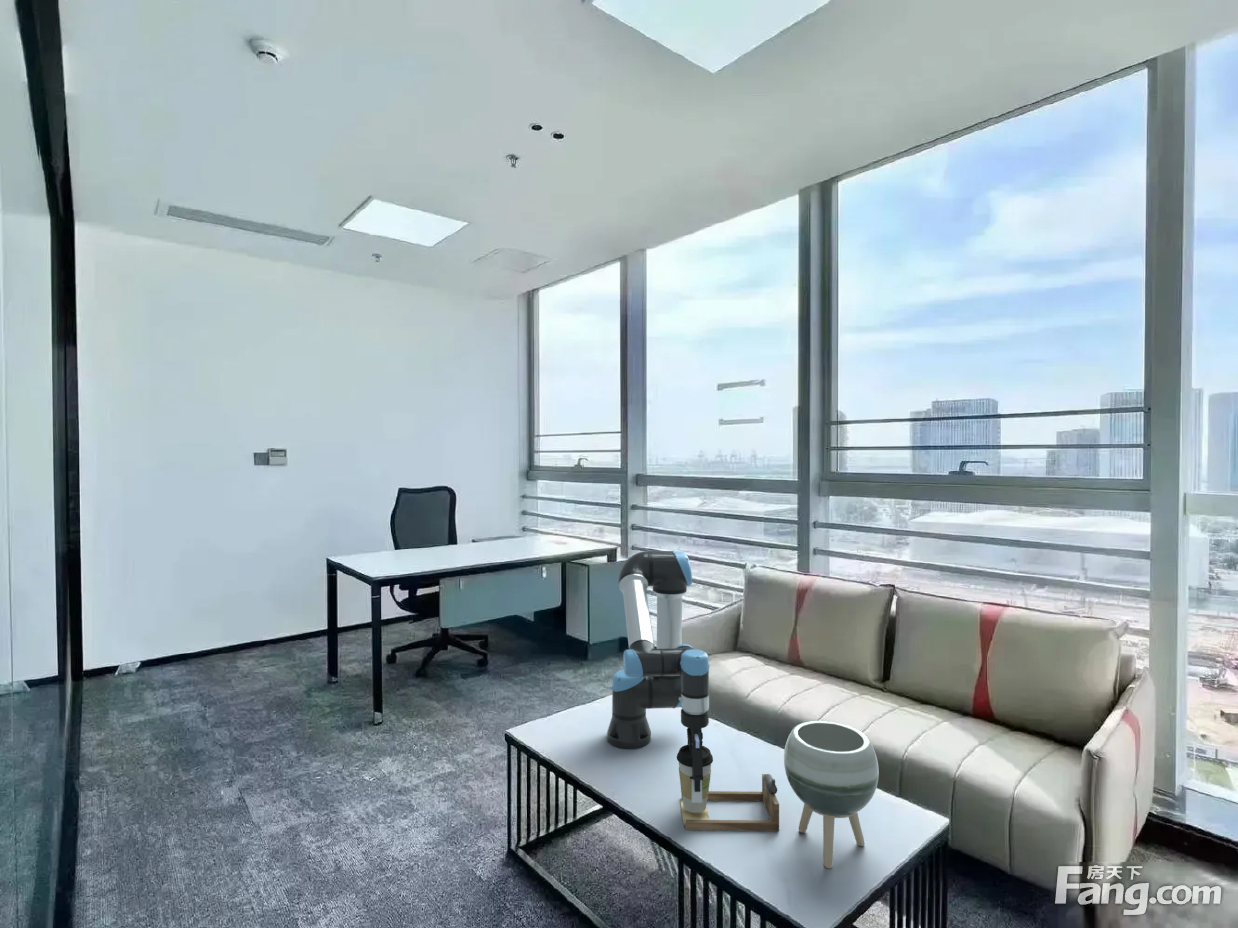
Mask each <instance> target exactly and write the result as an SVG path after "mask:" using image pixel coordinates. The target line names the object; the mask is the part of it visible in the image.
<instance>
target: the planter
mask: <svg viewBox="0 0 1238 928" xmlns="http://www.w3.org/2000/svg"><path fill="white" fill-rule="evenodd" d="M783 752H784V753H783V765H784V766H783V767H784V771H785V775H786V779H787V780H788V783H789V786H790V787H791V789H792V791H793V792H794V794H795V795H796V797H798V799H799V800H800V801H801V802H802V803H803V808H802V812H801V817H800V819H799V826H798V832H800V833H801V834H803V833H806V832H807V829H808V826H809V824H810V820H811V818H812V815H813V813H816V814H818V815H821V816H822V826H823V827H822V830H823V833H822V834H823V837H822V838H823V839H822V841H823V842H822V846H823V847H822V849H823V850H822V851H823V852H822V853H823V857H822V858H823V859H822V860H823V862H822V864H823V867H824V868H826V869H831V868H832V867H833V858H834V857H833V856H834V838H835V836H834V835H835V819H846V818H848V820H849V823H850V826H851V829H852V832H853V835H854V839H855V842H856V844H857V845H858V846H859V847H864V846H865V845H866V844H865V837H864V833H863V831H862V826H861V822H860V818H859V814H858V813H859V812H860V811H861V810H863V809H864V808H865V807H866V806H868V804H869V803H870V801H871V800H872V799H873V798H874V795H875V793H876V791H877V786H878V783H879V776H880V775H879V774H880V772H879V763H878V762H879V761H878V757H877V754H876V751H875V748H874V746H873V744H872V743H871V741H870V739H869V737H868V736H867V735H866V734H865V733H863V732H862V731H860V730H858V729H857V728H855V727H853V726H851V725H847V724H844V723H840V722H835V721H828V720H810V721H804V722H802V723H798V724H797V725H795V726H794V727H793V728H792V730H791V731H790V733H789V734H788V737H787V740H786V742H785V746H784V751H783Z"/></svg>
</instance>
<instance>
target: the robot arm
mask: <svg viewBox="0 0 1238 928" xmlns="http://www.w3.org/2000/svg"><path fill="white" fill-rule="evenodd" d="M692 581H693V575H692V567H691V563H690V560H689V557H688V555H687V553H686V552H684V551H675V550H661V551H640V552H639V551H638V552H637V553H635V554H633V555H632V556H629V558H628V559H627V560H626V561H625V563H623V566H622V567H621V569H620V572H619V576H618V588H619V589H618V590H619V591H620V592H621V594H622V596H623V597H622V598H623V604H624V605H623V607H624V614H625V625H626V633H627V641H628V642H627V643H628V649H625V650H624V651H623V659H622V661H623V668H621V669H619V670H618V671H616V672H615V673H614V674H613V676H612V683H611V692H612V693H611V694H612V696H611V697H612V698H611V699H612V703H611V704H612V705H611V708H612V709H611V713H612V714H611V719H610V720H609V721H610V723H609V725H608V728H607V732H606V740H607V742H608V743H609V744H610V745H612V746H613V747H616V748H621V749H626V750H628V749H629V750H630V749H639V748H643V747H645V746H647V745H649V743H650V742H651V741H652V731H651V727H650V725H649V721H648V718H647V710H649V709H651V710H652V709H653V710H654V709H677V708H681V710H680V723H681V725H682V726H684V727H685V728H686V735H687V736H686V737H687V745H689V749H690V750H691V754H692V776H690V779H692V803H702V780H703V761H702V749H703V747H702V746H703V738H704V736H703V735H704V734H703V730H702V729H703V728H706V727H708V726H709V724H710V719H709V718H710V716H709V715H710V714H709V713H710V712H709V710H710V692H709V691H710V690H709V689H710V685H709V684H710V683H709V682H710V680H709V678H710V676H709V675H710V671H709V670H710V664H709V663H710V662H709V655H708V653H707V652H705V651H704V650H701V649H696V648H694V647H693V646H692V645H690V644H687V643H683V642H682V640H683V638H682V637H683V627H682V626H683V596H684V595H685V594H686V593H687V591H688V590H687V589H688V588H687V587H690V586H692V585H693V583H692ZM649 587H652V592H653V593H654V595H656V648H655V641H654V640H655V639H654V634H653V628H652V620H651V616H650V609H649V602H648V601H649V600H648V596H647V590H648V588H649Z"/></svg>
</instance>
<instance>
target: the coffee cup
mask: <svg viewBox="0 0 1238 928" xmlns="http://www.w3.org/2000/svg"><path fill="white" fill-rule="evenodd" d="M702 747H703V749H702V761H703V780H702V803H692V779H690V776H692V754H691V750H690V749H689V745H688V744H685V745H682V746H681V747H680V748H679V750H678V752H677V755H676V760H677V761H678V774H679V783H680V793H681V799H682V798H683V806H684V808H685V809H686V810H687V811H689V812H693V813H700V812H703V811H704V810H705V809H706V806H707V804H708V801H707V796H708V792H709V791H710V783H711V774H712V768H711V767H712V764H713V762H714V758H713V755H712V753H711V750H710V749H709V747H706V746H705V745H702Z"/></svg>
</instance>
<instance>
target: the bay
mask: <svg viewBox="0 0 1238 928" xmlns="http://www.w3.org/2000/svg"><path fill="white" fill-rule="evenodd" d="M776 793H778V788H777V785H776V779H775V778H773V776H772V774H769V773H766V774H765V773H762V774H761V791H741V790H740V791H735V790H733V791H730V790H729V791H727V790H726V791H723V790H722V791H720V790H718V791H717V790H715V791H714V790H713V791H712V790H709V792H708V796H707V802H709V801H712V802H713V801H714V802H715V801H717V802H718V801H721V802H722V801H723V802H725V801H726V802H730V801H731V802H732V801H733V802H763V805H764V807H765V810H766V812H767V815H768V818H769V820H761V819H760V820H759V819H752V820H751V819H748V820H747V819H734V820H733V819H710V816H709V811H708V807H707V805H706V809H705V810H704V811H703V812H700V813H693V812H689V811H687V810H686V809H685V808H684V806H683V798H682V797H681V799H680V800H679V802H680V809H681V817H682V824H683V827H684V828H685V829H686V830H685V831H745V832H746V831H748V832H749V831H754V832H755V831H756V832H757V831H758V832H769V831H770V832H779V831H780V803H779V800H778V799H777V796H776Z"/></svg>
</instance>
